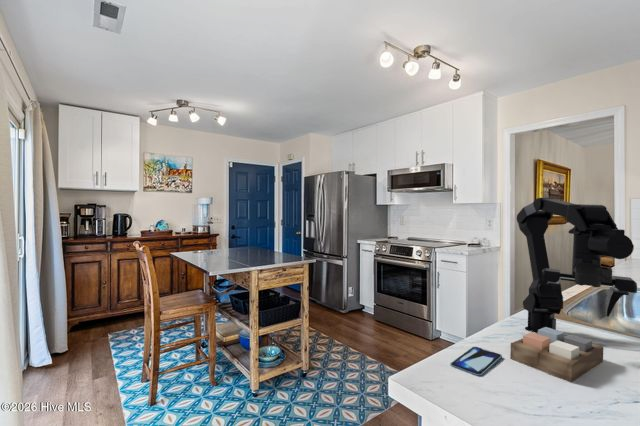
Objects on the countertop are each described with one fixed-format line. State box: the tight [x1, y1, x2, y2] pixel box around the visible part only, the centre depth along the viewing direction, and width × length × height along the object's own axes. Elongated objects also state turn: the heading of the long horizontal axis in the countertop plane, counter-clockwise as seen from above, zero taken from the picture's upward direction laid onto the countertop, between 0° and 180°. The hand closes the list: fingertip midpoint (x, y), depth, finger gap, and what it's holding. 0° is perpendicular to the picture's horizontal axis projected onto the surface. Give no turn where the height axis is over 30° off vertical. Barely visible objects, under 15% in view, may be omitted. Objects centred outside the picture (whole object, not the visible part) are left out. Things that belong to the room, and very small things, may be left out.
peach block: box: [522, 331, 550, 350], centre depth 82 cm, size 4×4×3 cm
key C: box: [538, 327, 565, 342], centre depth 87 cm, size 4×4×3 cm
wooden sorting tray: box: [509, 332, 605, 383], centre depth 82 cm, size 13×19×4 cm
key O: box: [564, 334, 593, 352], centre depth 82 cm, size 4×4×3 cm
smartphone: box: [450, 346, 503, 377], centre depth 81 cm, size 7×1×15 cm
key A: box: [549, 340, 579, 360], centre depth 77 cm, size 4×4×3 cm
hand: (583, 312), depth 84 cm, fingers open, 9 cm apart
